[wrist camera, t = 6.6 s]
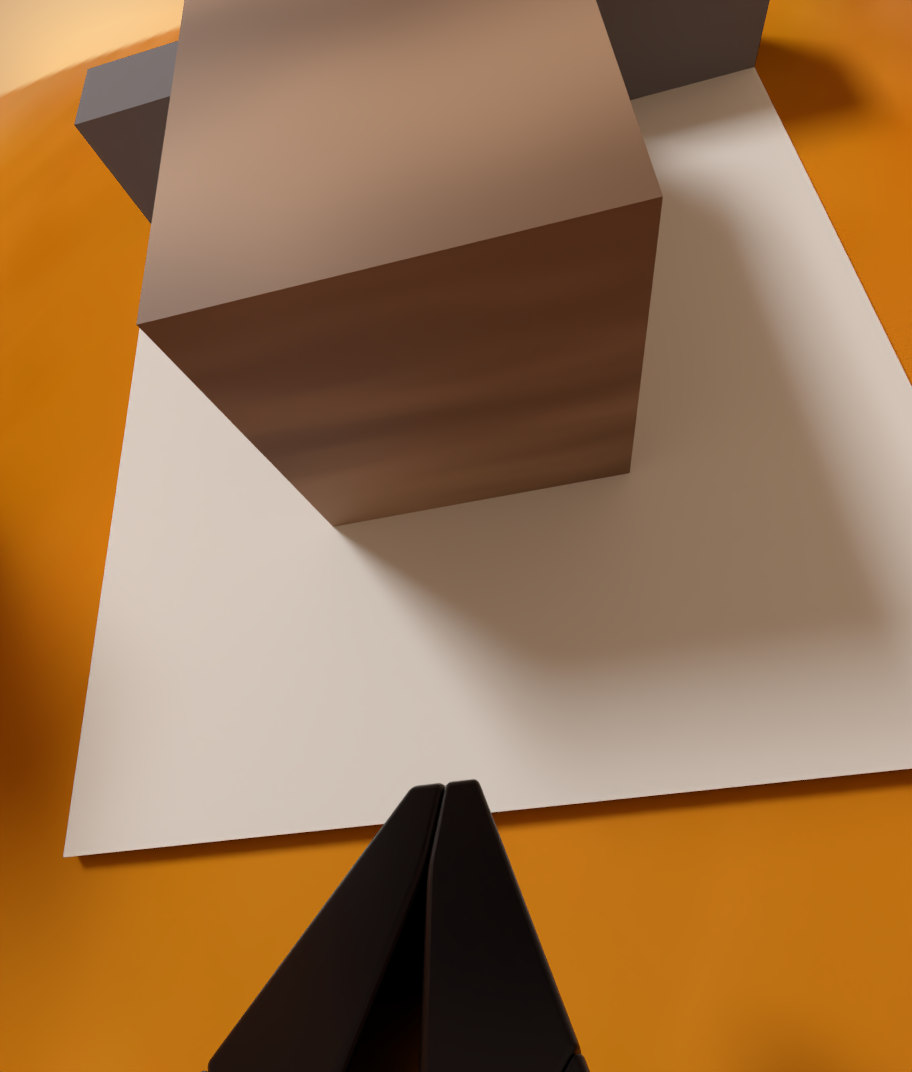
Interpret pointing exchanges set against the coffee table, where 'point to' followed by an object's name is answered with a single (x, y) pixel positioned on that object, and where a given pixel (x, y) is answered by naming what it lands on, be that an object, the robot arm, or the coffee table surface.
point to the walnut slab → (406, 244)
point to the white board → (530, 534)
